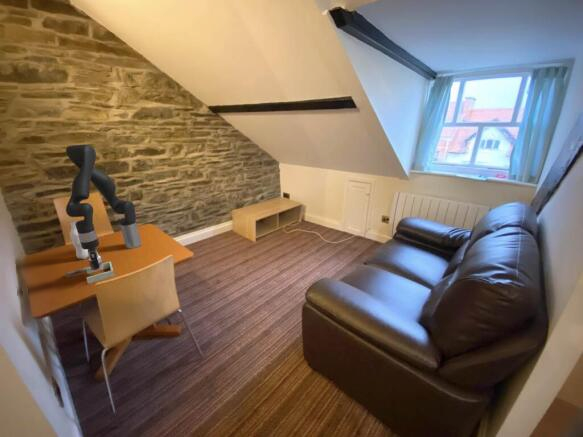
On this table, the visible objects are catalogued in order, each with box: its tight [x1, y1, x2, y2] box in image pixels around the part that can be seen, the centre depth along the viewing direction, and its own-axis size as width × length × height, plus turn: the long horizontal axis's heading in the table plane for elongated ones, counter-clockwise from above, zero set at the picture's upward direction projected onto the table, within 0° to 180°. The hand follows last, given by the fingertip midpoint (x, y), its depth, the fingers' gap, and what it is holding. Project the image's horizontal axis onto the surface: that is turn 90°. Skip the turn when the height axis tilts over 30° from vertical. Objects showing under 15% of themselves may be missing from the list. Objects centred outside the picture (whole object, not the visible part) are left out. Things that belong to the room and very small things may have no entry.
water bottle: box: [69, 220, 90, 260], centre depth 151 cm, size 7×7×25 cm
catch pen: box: [85, 261, 116, 284], centre depth 138 cm, size 12×13×4 cm
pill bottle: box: [88, 252, 104, 272], centre depth 135 cm, size 5×5×10 cm
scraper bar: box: [64, 265, 91, 279], centre depth 139 cm, size 13×6×3 cm, turn 130°
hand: (96, 265), depth 136 cm, fingers closed on pill bottle, 5 cm apart
